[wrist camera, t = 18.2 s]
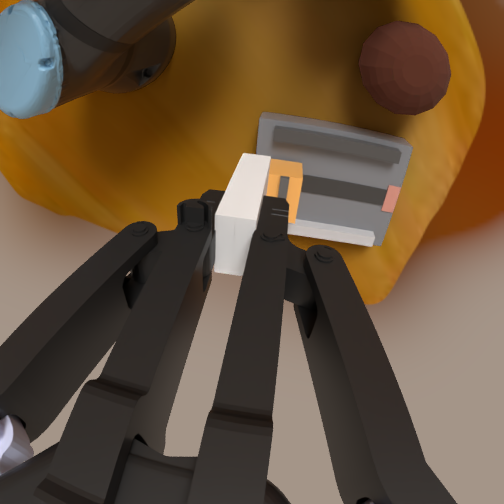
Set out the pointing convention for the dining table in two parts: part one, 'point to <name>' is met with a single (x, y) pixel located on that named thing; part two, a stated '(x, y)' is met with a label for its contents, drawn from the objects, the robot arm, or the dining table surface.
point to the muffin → (404, 68)
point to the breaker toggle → (286, 183)
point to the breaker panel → (338, 175)
